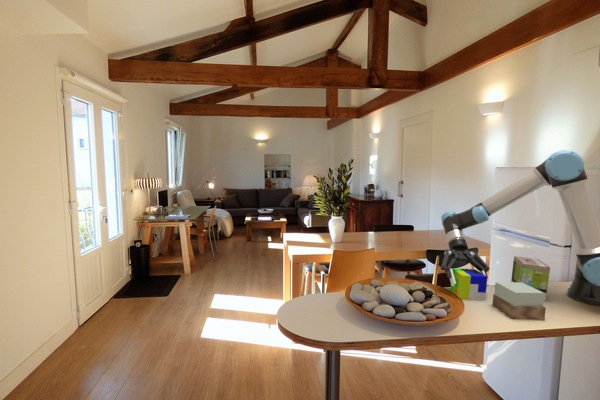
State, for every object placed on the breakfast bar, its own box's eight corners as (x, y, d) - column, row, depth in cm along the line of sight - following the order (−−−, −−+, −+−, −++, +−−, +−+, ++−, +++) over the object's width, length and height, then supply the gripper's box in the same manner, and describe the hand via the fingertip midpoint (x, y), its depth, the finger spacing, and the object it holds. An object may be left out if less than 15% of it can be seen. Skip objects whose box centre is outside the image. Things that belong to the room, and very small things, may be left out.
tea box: (546, 301, 141) (551, 266, 139) (519, 297, 144) (522, 263, 142) (535, 289, 155) (538, 258, 153) (509, 286, 158) (513, 255, 157)
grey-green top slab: (520, 294, 134) (522, 282, 134) (542, 306, 123) (544, 293, 123) (494, 294, 133) (495, 282, 133) (514, 306, 122) (515, 292, 122)
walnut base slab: (522, 307, 134) (523, 295, 134) (544, 321, 122) (545, 307, 122) (492, 306, 134) (493, 294, 134) (511, 319, 122) (512, 306, 122)
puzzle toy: (485, 300, 139) (487, 276, 138) (460, 299, 139) (462, 275, 138) (473, 291, 149) (475, 269, 148) (450, 290, 149) (452, 268, 148)
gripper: (480, 247, 158) (495, 290, 145) (427, 245, 158) (437, 288, 145) (487, 238, 152) (504, 282, 139) (432, 236, 152) (443, 280, 139)
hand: (470, 285), depth 142 cm, fingers open, 13 cm apart
